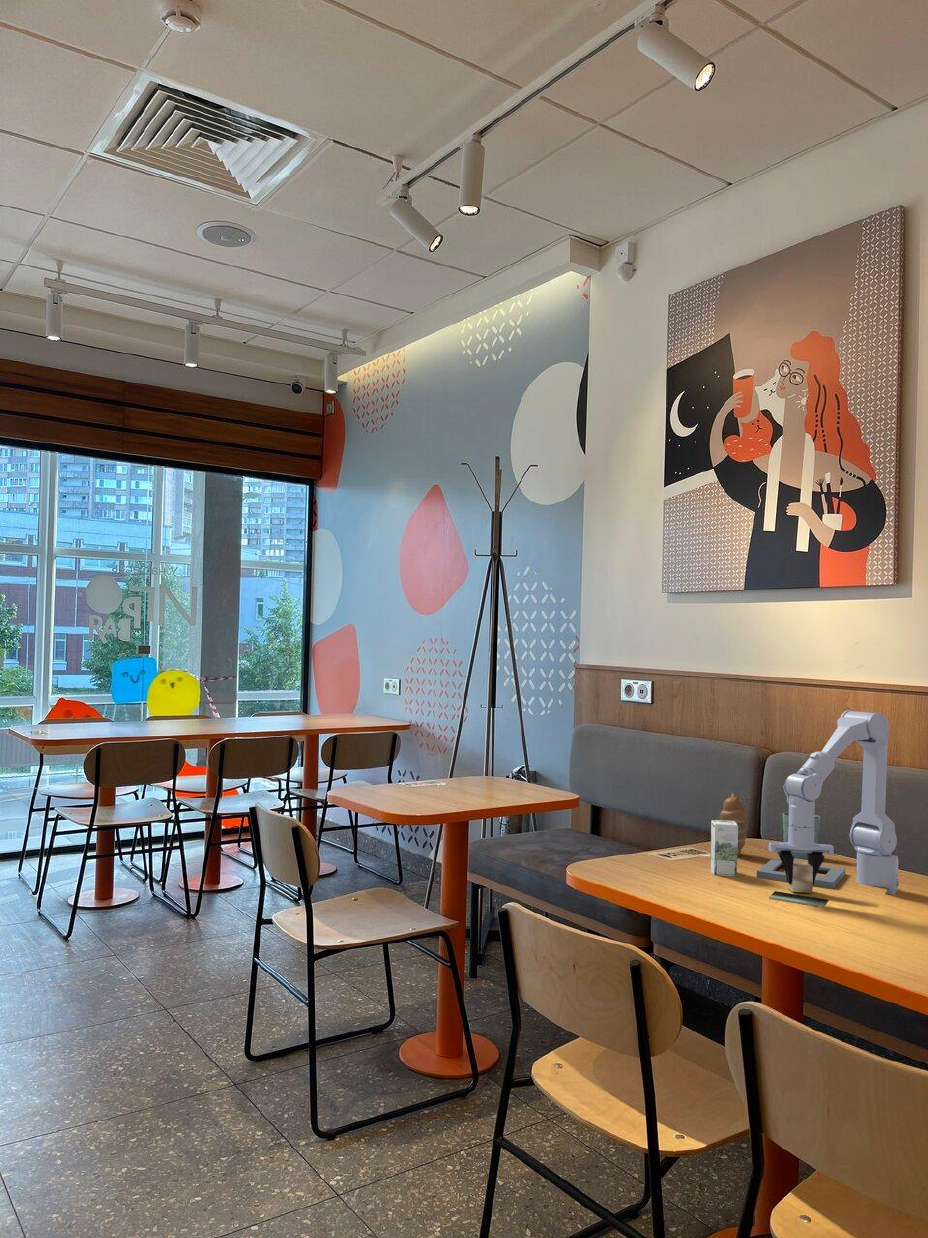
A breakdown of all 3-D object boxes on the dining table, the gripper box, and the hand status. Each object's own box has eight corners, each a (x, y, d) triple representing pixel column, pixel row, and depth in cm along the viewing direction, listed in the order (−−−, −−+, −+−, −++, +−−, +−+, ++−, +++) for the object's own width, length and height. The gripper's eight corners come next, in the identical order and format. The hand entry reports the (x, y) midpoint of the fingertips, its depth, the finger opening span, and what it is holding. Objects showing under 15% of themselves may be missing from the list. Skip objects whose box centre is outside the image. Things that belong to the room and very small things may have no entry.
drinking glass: (775, 853, 262) (775, 811, 263) (807, 853, 264) (807, 811, 265) (793, 861, 253) (794, 818, 253) (827, 861, 254) (827, 818, 255)
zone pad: (830, 897, 215) (830, 896, 215) (823, 907, 206) (823, 905, 206) (778, 889, 221) (778, 888, 221) (769, 898, 213) (769, 896, 213)
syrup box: (732, 876, 233) (733, 820, 233) (737, 882, 227) (738, 824, 227) (709, 875, 233) (711, 819, 234) (713, 881, 227) (715, 823, 228)
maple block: (806, 888, 216) (806, 862, 217) (812, 892, 212) (812, 866, 212) (787, 887, 216) (787, 861, 217) (792, 891, 212) (793, 866, 212)
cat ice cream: (751, 863, 248) (752, 797, 249) (722, 862, 248) (723, 796, 249) (742, 856, 257) (743, 792, 258) (714, 855, 257) (715, 791, 258)
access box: (845, 880, 233) (845, 868, 233) (833, 895, 217) (833, 882, 217) (772, 869, 242) (773, 858, 242) (756, 883, 227) (756, 871, 227)
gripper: (826, 823, 218) (825, 880, 217) (765, 821, 219) (764, 878, 218) (837, 829, 211) (836, 888, 210) (773, 826, 212) (772, 885, 211)
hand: (800, 883), depth 214 cm, fingers closed on maple block, 4 cm apart
